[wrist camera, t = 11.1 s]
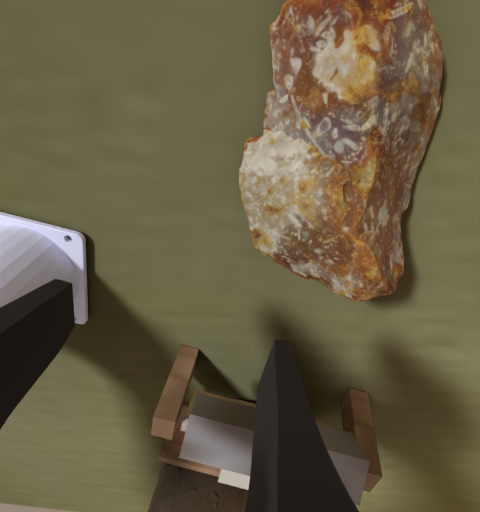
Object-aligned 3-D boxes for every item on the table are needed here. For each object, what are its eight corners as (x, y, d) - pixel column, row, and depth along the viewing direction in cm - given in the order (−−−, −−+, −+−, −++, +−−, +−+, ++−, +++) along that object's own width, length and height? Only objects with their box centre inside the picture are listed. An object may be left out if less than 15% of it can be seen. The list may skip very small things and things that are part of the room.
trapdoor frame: (164, 442, 36) (140, 513, 30) (181, 344, 28) (153, 416, 23) (312, 481, 36) (313, 559, 30) (367, 392, 28) (382, 476, 23)
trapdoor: (201, 364, 30) (192, 399, 30) (181, 411, 20) (167, 463, 20) (334, 399, 30) (326, 434, 29) (379, 463, 20) (366, 515, 20)
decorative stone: (242, 315, 19) (198, -36, 13) (254, 276, 23) (224, -9, 17) (441, 316, 17) (496, -95, 11) (418, 274, 21) (449, -50, 15)
